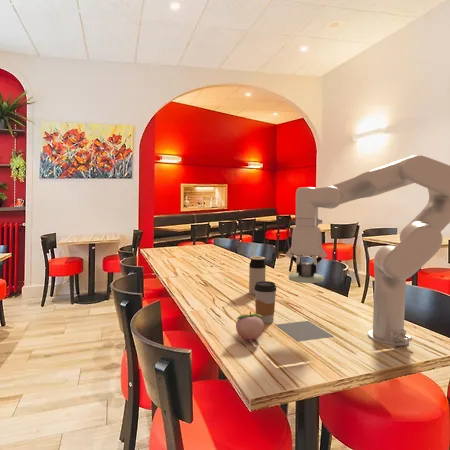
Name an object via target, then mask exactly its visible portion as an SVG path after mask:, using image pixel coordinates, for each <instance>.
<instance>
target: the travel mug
mask: <svg viewBox="0 0 450 450" xmlns="http://www.w3.org/2000/svg"><path fill="white" fill-rule="evenodd" d="M249 258H250V262H249V266H248V267H249V268H248V271H249V273H248V279H249V280H248V281H249V282H248V292H249V294H250V295H254V296H255V289H254V288H255V285H256V282H260V281H266V270H267V269H266V267H267V266H266V262H265V261H266V257H264V256H259V255H258V256H257V255H256V256H255V255H253V256H250V257H249Z"/></svg>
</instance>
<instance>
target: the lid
mask: <svg viewBox="0 0 450 450" xmlns="http://www.w3.org/2000/svg"><path fill="white" fill-rule="evenodd" d="M300 264H301V276H299V275H298V273H295V272H294V273H290V274H288V280H289V281H290V282H295V283H300V284H301V283H302V284H315V283H316V284H317V283H322V282H324V281H325V276H323V275H322V274H319V273H316V274H314V276H312V262H300Z"/></svg>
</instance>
